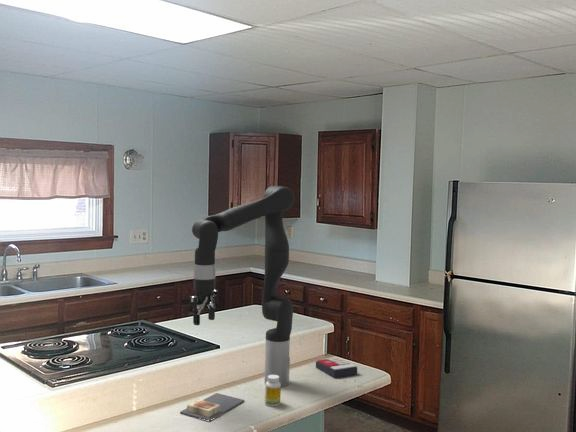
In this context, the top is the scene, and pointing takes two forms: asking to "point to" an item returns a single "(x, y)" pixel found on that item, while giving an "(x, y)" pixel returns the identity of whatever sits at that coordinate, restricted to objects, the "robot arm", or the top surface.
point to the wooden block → (203, 408)
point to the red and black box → (336, 368)
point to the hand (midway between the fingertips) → (204, 322)
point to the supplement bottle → (272, 390)
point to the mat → (220, 399)
